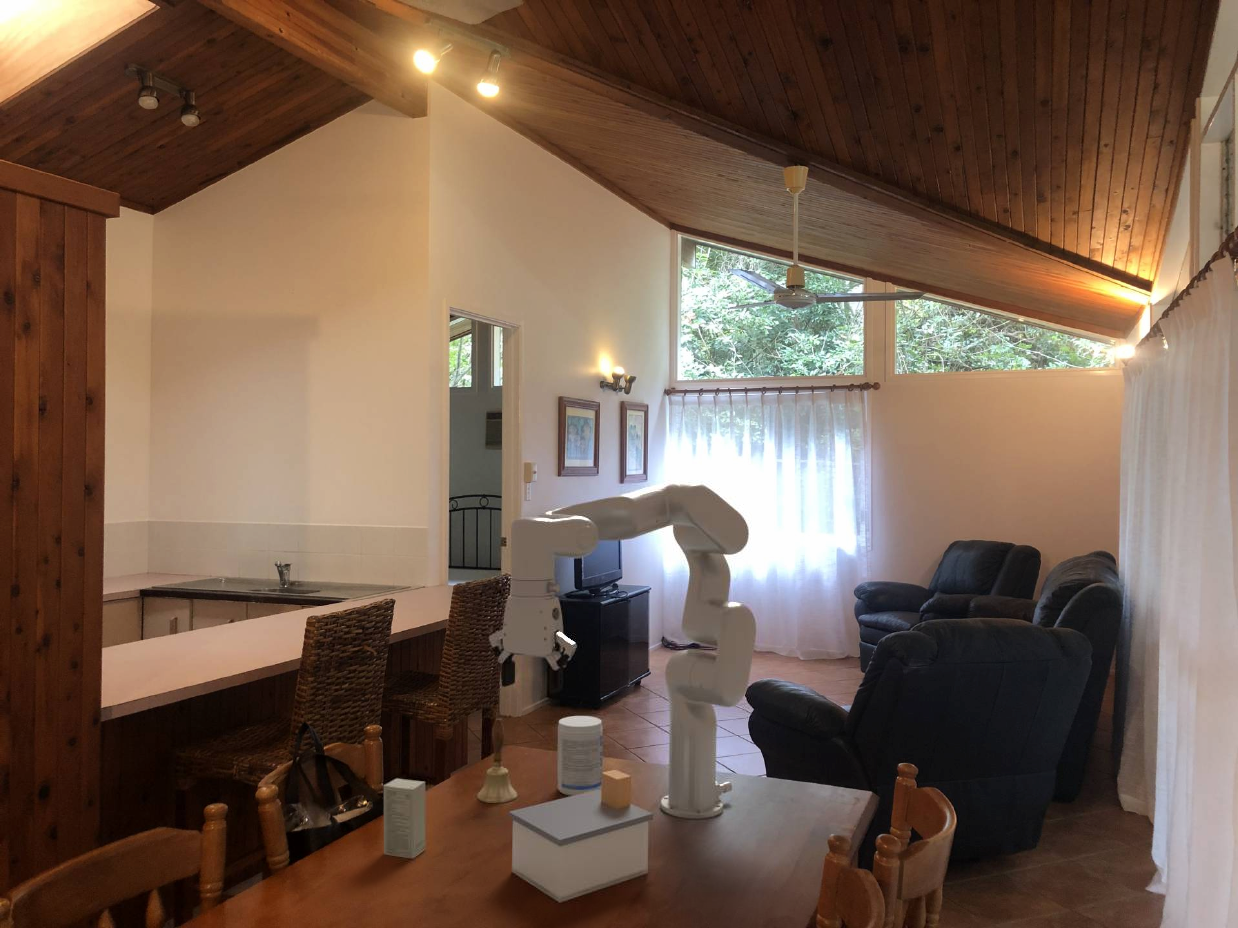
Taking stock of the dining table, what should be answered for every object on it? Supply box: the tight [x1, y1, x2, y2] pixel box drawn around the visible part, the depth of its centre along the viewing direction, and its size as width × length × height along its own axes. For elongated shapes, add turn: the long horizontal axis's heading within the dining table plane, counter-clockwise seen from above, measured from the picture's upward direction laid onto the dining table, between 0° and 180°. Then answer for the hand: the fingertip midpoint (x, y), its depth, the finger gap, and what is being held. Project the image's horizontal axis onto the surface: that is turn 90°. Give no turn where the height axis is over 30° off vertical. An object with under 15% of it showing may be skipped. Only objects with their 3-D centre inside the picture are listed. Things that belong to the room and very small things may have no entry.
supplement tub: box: [557, 715, 604, 797], centre depth 195 cm, size 10×10×15 cm
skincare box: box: [383, 777, 427, 860], centre depth 162 cm, size 6×4×12 cm
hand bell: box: [476, 718, 518, 804], centre depth 191 cm, size 8×8×16 cm
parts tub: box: [511, 820, 649, 904], centre depth 154 cm, size 18×14×9 cm
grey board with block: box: [508, 769, 654, 846], centre depth 155 cm, size 19×15×7 cm
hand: (531, 688), depth 158 cm, fingers open, 9 cm apart
